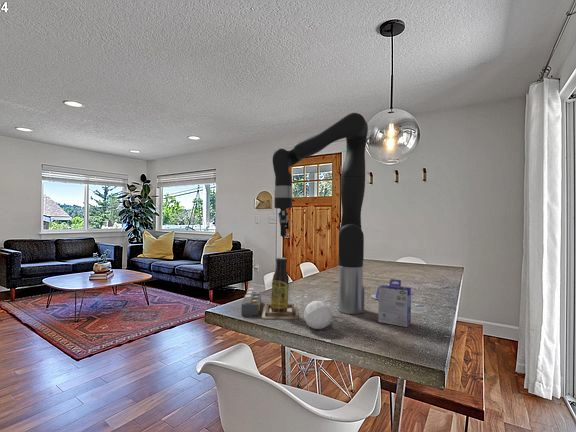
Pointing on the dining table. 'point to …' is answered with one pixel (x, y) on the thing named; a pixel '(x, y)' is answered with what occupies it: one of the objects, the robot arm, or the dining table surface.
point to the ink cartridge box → (394, 304)
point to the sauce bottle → (280, 287)
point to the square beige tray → (280, 313)
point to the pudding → (376, 294)
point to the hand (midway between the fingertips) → (283, 235)
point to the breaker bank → (251, 303)
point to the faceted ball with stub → (317, 315)
